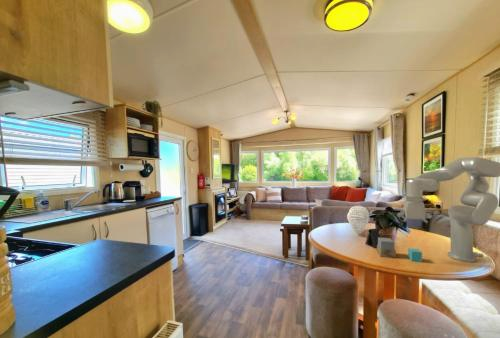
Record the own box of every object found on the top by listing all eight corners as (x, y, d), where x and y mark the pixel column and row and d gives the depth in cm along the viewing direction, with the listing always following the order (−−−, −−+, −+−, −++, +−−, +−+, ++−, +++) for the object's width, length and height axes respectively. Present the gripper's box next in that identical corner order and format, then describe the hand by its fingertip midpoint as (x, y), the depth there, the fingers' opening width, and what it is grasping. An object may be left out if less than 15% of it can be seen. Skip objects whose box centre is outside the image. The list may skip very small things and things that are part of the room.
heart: (369, 241, 159) (368, 211, 158) (346, 237, 166) (346, 209, 166) (369, 230, 183) (369, 205, 183) (349, 228, 191) (349, 203, 190)
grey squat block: (390, 246, 136) (390, 238, 136) (394, 250, 130) (394, 242, 129) (377, 245, 138) (377, 237, 138) (381, 249, 131) (381, 241, 131)
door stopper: (382, 247, 146) (382, 230, 145) (375, 248, 144) (375, 231, 144) (372, 243, 154) (372, 226, 154) (365, 244, 153) (365, 227, 153)
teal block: (417, 258, 128) (417, 249, 128) (421, 262, 123) (421, 252, 123) (408, 257, 129) (408, 248, 129) (411, 261, 124) (411, 251, 124)
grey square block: (390, 253, 137) (390, 245, 137) (395, 258, 129) (395, 250, 129) (377, 252, 139) (376, 244, 139) (380, 257, 131) (380, 249, 131)
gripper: (428, 199, 127) (428, 227, 127) (395, 198, 132) (395, 225, 132) (435, 201, 120) (435, 231, 120) (399, 200, 124) (399, 229, 125)
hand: (414, 228), depth 126 cm, fingers open, 9 cm apart
